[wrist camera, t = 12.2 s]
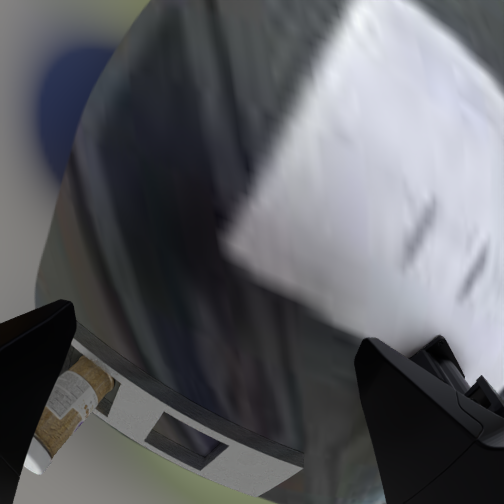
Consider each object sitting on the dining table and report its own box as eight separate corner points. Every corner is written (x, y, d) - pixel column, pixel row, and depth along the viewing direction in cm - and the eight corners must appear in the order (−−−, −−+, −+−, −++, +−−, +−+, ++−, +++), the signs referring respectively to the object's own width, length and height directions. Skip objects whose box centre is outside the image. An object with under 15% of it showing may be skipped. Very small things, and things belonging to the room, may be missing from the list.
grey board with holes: (303, 453, 24) (303, 468, 22) (258, 484, 26) (256, 497, 24) (71, 316, 24) (59, 325, 22) (61, 369, 26) (51, 378, 24)
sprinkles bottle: (111, 396, 25) (42, 482, 12) (77, 371, 25) (1, 446, 12) (120, 371, 24) (38, 466, 11) (83, 343, 24) (-8, 423, 11)
